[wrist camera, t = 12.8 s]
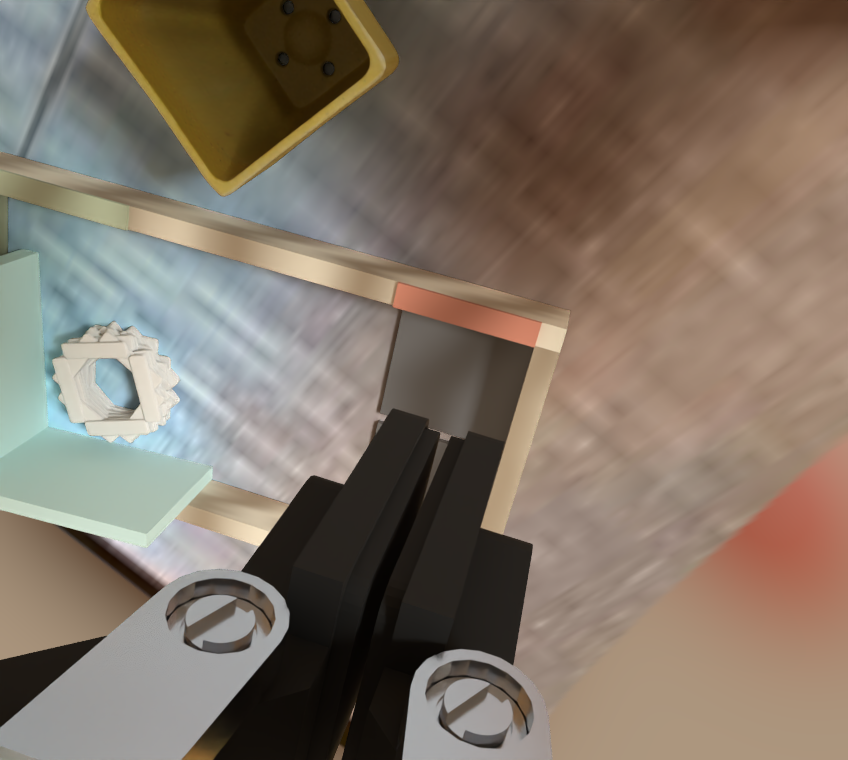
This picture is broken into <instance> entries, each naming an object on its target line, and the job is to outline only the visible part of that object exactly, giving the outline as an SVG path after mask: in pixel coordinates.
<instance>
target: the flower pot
mask: <svg viewBox="0 0 848 760" xmlns="http://www.w3.org/2000/svg"><path fill="white" fill-rule="evenodd" d="M286 1H291V2H292V3H293V5H294V10H293V12H292V13H291V14H286V13H285V12H284V10H283V4H284V3H285V2H286ZM333 10H337V11H339V13H340V15H341V19H340V21H339V22H338V23H332V22H331V21H330V19H329V15H330V12H331V11H333ZM86 11H87V13H88V15H89V17H90V19H91V20H92V22H93V23H94V25H95V26H96V27H97V29H98V30H99V31H100V33H101V34H102V36H103V37H104V38H105V40H106V41H107V42H108V44H109V45H110V46H111V48H112V49H113V50H114V52H115V53H116V54H117V55H118V57H119V58H120V59H121V61H122V62H123V63H124V65H125V66H126V67H127V69H128V70H129V72H130V73H131V74H132V76H133V77H134V78H135V80H136V81H137V82H138V83H139V85H140V86H141V87H142V89H143V90H144V92H145V93H146V94H147V95H148V97H149V98H150V100H151V101H152V102H153V104H154V105H155V107H156V108H157V109H158V111H159V112H160V114H161V115H162V117H163V118H164V119H165V121H166V123H167V124H168V125H169V127H170V128H171V130H172V131H173V133H174V134H175V136H176V137H177V139H178V140H179V142H180V143H181V145H182V146H183V147H184V149H185V151H186V152H187V153H188V155H189V156H190V158H191V159H192V160H193V162H194V163H195V165H196V166H197V168H198V169H199V171H200V172H201V174H202V175H203V177H204V178H205V179H206V181H207V182H208V183H209V184H210V186H211V187H212V188H213V189H214V190H215V191H216V192H217V193H218V194H219V195H220V196H223V197H225V196H228V195H230V194H231V193H233V192H234V191H236V190H237V189H239V188H240V187H241V186H243V185H244V184H246V183H247V182H249V181H250V180H252V179H253V178H255V177H256V176H257V175H259V174H260V173H262V172H263V171H265V170H266V169H268V168H269V167H271V166H272V165H273V164H275V163H276V162H277V161H278V160H280V159H281V158H282V157H283V156H285V155H286V154H287V153H288V152H290V151H291V150H292V149H293V148H295V147H296V146H297V145H298V144H300V143H301V142H302V141H303V140H305V139H306V138H307V137H308V136H310V135H311V134H312V133H314V132H315V131H316V130H317V129H319V128H320V127H321V126H323V125H324V124H325V123H326V122H328V121H329V120H330V119H332V118H333V117H334V116H336V115H337V114H338V113H340V112H341V111H342V110H344V109H345V108H346V107H348V106H349V105H350V104H352V103H353V102H354V101H356V100H357V99H358V98H360V97H361V96H362V95H364V94H365V93H366V92H368V91H369V90H370V89H372V88H373V87H374V86H376V85H377V84H379V83H380V82H381V81H383V80H384V79H385V78H387V77H388V76H389V75H391V74H392V73H393V72H394V71H395V70H396V68H397V66H398V64H399V57H398V54H397V51H396V50H395V48H394V46H393V45H392V43H391V41H390V40H389V38H388V37H387V35H386V34H385V32H384V31H383V29H382V28H381V26H380V25H379V23H378V22H377V20H376V19H375V17H374V15H373V14H372V12H371V11H370V9H369V8H368V6H367V5H366V3H365V2H364V0H89V1H88V3H87V5H86ZM281 53H285V54H287V55H288V57H289V62H288V64H287V65H281V64H280V63H279V62H278V56H279V54H281ZM326 62H330V63H332V64H333V66H334V72H333V74H331V75H327V74H325V73H324V71H323V66H324V64H325V63H326Z"/></svg>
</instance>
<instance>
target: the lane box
mask: <svg viewBox="0 0 848 760" xmlns="http://www.w3.org/2000/svg"><path fill="white" fill-rule="evenodd" d="M8 197H10V198H14V199H17V200H21V201H24V202H28V203H31V204H35V205H38V206H42V207H45V208H49V209H52V210H56V211H59V212H63V213H66V214H70V215H73V216H77V217H80V218H84V219H87V220H91V221H94V222H98V223H101V224H105V225H108V226H112V227H115V228H119V229H122V230H132V231H135V232H139V233H142V234H146V235H149V236H153V237H156V238H160V239H163V240H167V241H170V242H174V243H177V244H181V245H184V246H188V247H191V248H195V249H198V250H202V251H205V252H209V253H212V254H216V255H219V256H223V257H226V258H230V259H233V260H237V261H240V262H244V263H247V264H251V265H254V266H258V267H261V268H265V269H268V270H272V271H275V272H279V273H282V274H286V275H289V276H293V277H296V278H300V279H303V280H307V281H310V282H314V283H317V284H321V285H324V286H328V287H331V288H335V289H338V290H342V291H345V292H349V293H352V294H356V295H359V296H363V297H366V298H370V299H373V300H377V301H380V302H384V303H387V304H391V305H393V307H394V308H398V309H401V310H403V311H402V315H401V320H400V324H399V329H398V334H397V338H396V343H395V347H394V352H393V356H392V361H391V365H390V370H389V374H388V379H387V384H386V388H385V393H384V397H383V402H382V406H381V411H380V413H381V414H384V415H388V414H389V413H390V411H391V410H392V409H393V408H394V409H398V410H401V411H404V412H408V413H411V414H414V415H418V416H421V417H424V418H428V419H429V425H428V428H431V429H434V430H437V431H441V432H444V433H447V434H450V435H454V436H457V437H460V438H464V439H465V438H466V436H467V433H468V431H471V432H474V433H477V434H481V435H484V436H487V437H491V438H494V439H497V440H501V441H504V442H505V443H504V446H503V453H502V456H501V457H500V460H499V464H498V467H497V471H496V474H495V478H494V481H493V485H492V488H491V492H490V495H489V499H488V502H487V506H486V509H485V513H484V516H483V520H482V523H481V527H480V528H483V529H486V530H489V531H493V532H496V533H499V534H502V535H503V532H504V529H505V526H506V522H507V519H508V516H509V513H510V510H511V507H512V503H513V500H514V497H515V494H516V491H517V488H518V484H519V481H520V478H521V475H522V472H523V468H524V465H525V462H526V459H527V456H528V453H529V449H530V446H531V443H532V440H533V437H534V433H535V430H536V427H537V424H538V421H539V418H540V414H541V411H542V408H543V405H544V402H545V398H546V395H547V392H548V389H549V386H550V383H551V379H552V376H553V373H554V370H555V367H556V363H557V360H558V357H559V354H560V351H561V348H562V344H563V341H564V338H565V335H566V332H567V328H568V322H569V316H570V311H569V310H566V309H562V308H559V307H555V306H551V305H548V304H544V303H541V302H537V301H533V300H530V299H526V298H523V297H519V296H516V295H512V294H508V293H505V292H501V291H498V290H494V289H491V288H487V287H483V286H480V285H476V284H473V283H469V282H466V281H462V280H458V279H455V278H451V277H448V276H444V275H440V274H437V273H433V272H430V271H426V270H423V269H419V268H415V267H412V266H408V265H405V264H401V263H398V262H394V261H390V260H387V259H383V258H380V257H376V256H373V255H369V254H365V253H362V252H358V251H355V250H351V249H348V248H344V247H340V246H337V245H333V244H330V243H326V242H322V241H319V240H315V239H312V238H308V237H305V236H301V235H297V234H294V233H290V232H287V231H283V230H280V229H276V228H272V227H269V226H265V225H262V224H258V223H255V222H251V221H247V220H244V219H240V218H237V217H233V216H229V215H226V214H222V213H219V212H215V211H212V210H208V209H204V208H201V207H197V206H194V205H190V204H187V203H183V202H179V201H176V200H172V199H169V198H165V197H162V196H158V195H154V194H151V193H147V192H144V191H140V190H136V189H133V188H129V187H126V186H122V185H119V184H115V183H111V182H108V181H104V180H101V179H97V178H94V177H90V176H86V175H83V174H79V173H76V172H72V171H69V170H65V169H61V168H58V167H54V166H51V165H47V164H43V163H40V162H36V161H33V160H29V159H26V158H22V157H18V156H15V155H11V154H8V153H4V152H1V151H0V256H2V255H5V254H8ZM382 424H383V421H380V420H379V422H378V424H377V429H376V433H377V432H378V430H379V429H380V427H381V425H382ZM375 435H376V434H375ZM448 442H449V441H445V440H442V439H439V442H438V446H437V450H436V454H435V458H434V462H433V465H432V469H431V473H430V477H429V481H428V485H427V489H426V493H425V496H426V494H427V491H428V489H429V487H430V484H431V482H432V480H433V477H434V475H435V473H436V470H437V468H438V466H439V463H440V461H441V459H442V456H443V454H444V452H445V449H446V447H447V445H448ZM425 496H424V498H425ZM423 501H424V500H423ZM288 506H289V504H286V503H283V502H279V501H276V500H273V499H270V498H267V497H264V496H261V495H258V494H254V493H251V492H248V491H245V490H242V489H239V488H236V487H233V486H230V485H226V484H223V483H220V482H217V481H214V480H211V481H210V482H209V483H208V484H207V485H206V486H205V487H204V488H203V489H202V490H201V491H200V493H199V494H198V495H197V496H196V497H195V498H194V499H193V500H192V501H191V502H190V503H189V504H188V505H187V506H186V507H185V508H184V509H183V510H182V511H181V513H180V514H179V515H178V516H177V517H176V518H175V519H178V520H181V521H184V522H187V523H190V524H193V525H196V526H199V527H202V528H205V529H208V530H211V531H214V532H217V533H220V534H223V535H226V536H229V537H233V538H236V539H239V540H242V541H245V542H248V543H251V544H254V545H257V546H260V545H261V543H262V542H263V540H264V539H265V538H266V536H267V535H268V534H269V532H270V531H271V529H272V528H273V527H274V525H275V524H276V522H277V521H278V520H279V518H280V517H281V516H282V514H283V513H284V511H285V510H286V509H287V507H288Z"/></svg>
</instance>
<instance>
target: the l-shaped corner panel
mask: <svg viewBox="0 0 848 760" xmlns="http://www.w3.org/2000/svg"><path fill="white" fill-rule="evenodd" d="M158 344H159V343H158V340H157V339H155V338H151V337H147V336H143V335H142V334H141V333H140V332H139V331H138V330H137V329H136V328H135V327H134V326H131V327H129V328H128V329H127V330H126V331H123V330H122V329H121V328H120V326H119V325H118V324H117V323H116V322H115V321H113V322H111V323H110V324H109V325H108V326H107V327H105V326H100V325H94V327H90V328H89V329H88V330H87V331H86V334H84V335H83V337H79V338H72V339H69V340H68V343H63V344H61V348H62V351H63V355H62V356H59V357H56V358H54V359H52V363H53V366H54V369H55V374H54V375H53V376H52V379H53V380H54V381H55V382H57V383H58V384H59V386H60V389H61V393H60V394H59V396H58V399H59V401H61V402H62V403H63V404H64V405H65V406H66V409H67V412H68V416H69V419H70V421H71V423H83V422H85V427H86V429H87V432H88V434H89V435H90V436H102V437H103V438H104V439H105V440H107V441H105V440H101V439H97V438H93V437H89V436H85V435H81V434H77V433H72V432H68V431H64V430H60V429H56V428H52V427H48V411H47V393H46V376H45V358H44V340H43V323H42V305H41V287H40V270H39V252H34V251H29V250H24V249H20V250H17V251H14V252H11V253H8V254H5V255H2V256H0V510H3V511H7V512H11V513H15V514H18V515H23V516H26V517H30V518H34V519H38V520H42V521H45V522H49V523H53V524H57V525H60V526H64V527H68V528H72V529H76V530H79V531H83V532H87V533H91V534H95V535H99V536H102V537H106V538H110V539H114V540H118V541H121V542H125V543H129V544H133V545H137V546H141V547H144V548H147V547H148V546H149V545H150V544H151V543H152V542H153V541H154V540H155V539H156V538H157V537H158V536H159V535H160V534H161V533H162V532H163V530H164V529H165V528H166V527H167V526H168V525H169V524H170V523H171V522H172V521H173V520H174V519H175V518H176V517H177V516H178V515H179V514H180V513H181V511H182V510H183V509H184V508H185V507H186V506H187V505H188V504H189V503H190V502H191V501H192V500H193V499H194V498H195V497H196V496H197V495H198V494H199V493H200V491H201V490H202V489H203V488H204V487H205V486H206V485H207V484H208V483H209V482H210V481H211V480H212V471H213V466H208V465H204V464H200V463H196V462H192V461H188V460H184V459H180V458H175V457H171V456H167V455H163V454H159V453H155V452H151V451H147V450H142V449H138V448H134V447H130V446H126V445H122V444H118V443H114V442H113V441H114V440H115V439H116V438H118V437H119V436H121V437H122V438H123V439H125V440H126V441H127V442H129V443H132V442H133V441H134V440H135V439H137V438H138V437H139V436H140V435H147V434H149V433H150V432H155V431H156V430H158V425H161V426H164V425H165V424H166V420H168V419H170V409H171V408H172V407H173V406H175V405H176V404H177V403H178V402H180V399H179V397H178V396H177V394H176V393H175V392H174V390H173V389H172V388H173V387H174V386H175V385H177V383H178V382H179V381H180V378H179V376H178V375H177V374H176V373H175V372H174V371H173V370H172V368H171V359H170V358H169V357H167V356H162V355H159V354H158ZM109 358H116V359H117V360H118V361H119V362H121V363H122V364H123V365H124V366H125V367H126V368H127V369H129V370H130V371H131V372H132V374H133V378H134V381H135V385H136V389H137V393H138V397H139V400H140V405H139V406H138V407H137V409H136V410H132V409H128V408H124V407H120V406H116V405H114V404H113V403H112V402H111V401H110V399H109V398H108V397H107V396H106V395H105V393H104V392H103V391H102V390H101V389H100V387H99V386H98V385H97V384H96V383H95V370H96V361H97V360H98V359H109Z"/></svg>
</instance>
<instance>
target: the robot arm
mask: <svg viewBox="0 0 848 760" xmlns="http://www.w3.org/2000/svg"><path fill="white" fill-rule="evenodd" d="M428 425H429V419H428V418H424V417H421V416H418V415H414V414H411V413H408V412H404V411H401V410H398V409H394V408H393V409H392V410H391V411H390V413H389V414H388V416H387V417H386V419H385V421H384V422H383V424H382V425H381V427H380V429H379V430H378V432H377V433H376V435H375V437H374V438H373V440H372V441H371V443H370V444H369V446H368V448H367V449H366V451H365V452H364V454H363V456H362V457H361V459H360V460H359V462H358V464H357V465H356V467H355V468H354V470H353V471H352V473H351V475H350V476H349V478H348V479H347V481H346V483H345V484H344V485H343V484H340V483H337V482H334V481H331V480H327V479H324V478H321V477H318V476H315V475H314V476H311V477H310V478H309V479H308V480H307V481H306V482H305V484H304V485H303V487H302V488H301V489H300V491H299V492H298V493H297V495H296V496H295V498H294V499H293V500H292V502H291V503H290V505H289V506H288V507H287V509H286V510H285V511H284V513H283V514H282V516H281V517H280V518H279V520H278V521H277V522H276V524H275V525H274V527H273V528H272V529H271V531H270V532H269V534H268V535H267V536H266V538H265V539H264V540H263V542H262V543H261V545H260V546H259V547H258V549H257V550H256V552H255V553H254V554H253V556H252V557H251V558H250V560H249V561H248V563H247V564H246V565H245V567H244V568H243V569H242V571H234V570H225V569H214V570H203V571H197V572H194V573H191V574H188V575H185V576H182V577H179V578H178V579H176V580H175V581H173V582H171V583H170V584H168V585H167V586H165V587H164V588H163V589H162V590H160V591H159V592H158V593H157V594H156V595H155V596H153V597H152V598H151V599H150V600H149V601H148V602H146V603H145V604H144V605H143V606H142V607H141V608H139V609H138V610H137V611H136V612H135V613H134V614H132V615H131V616H130V617H129V618H128V619H127V620H125V621H124V622H123V623H122V624H121V625H120V626H118V627H117V628H116V629H115V630H114V631H113V632H111V633H110V634H109V635H108V636H104V637H99V638H95V639H91V640H86V641H82V642H77V643H73V644H69V645H64V646H60V647H55V648H51V649H47V650H42V651H38V652H33V653H29V654H25V655H20V656H16V657H12V658H7V659H3V660H0V760H333V758H334V755H335V753H336V750H337V748H338V746H339V743H340V741H341V738H342V736H343V733H344V731H345V728H346V726H347V723H348V721H349V718H350V716H351V713H352V711H353V708H354V706H355V708H354V712H353V716H352V720H351V724H350V728H349V732H348V736H347V741H346V745H345V749H344V753H343V757H342V760H552V749H551V737H550V726H549V716H548V713H547V709H546V705H545V702H544V699H543V697H542V696H541V694H540V692H539V691H538V689H537V688H536V686H535V685H534V683H533V682H532V681H531V680H530V679H529V678H528V677H527V676H526V675H525V674H523V673H522V672H521V671H520V670H519V669H518V668H516V667H515V666H513V663H514V657H515V651H516V645H517V639H518V633H519V627H520V621H521V615H522V609H523V603H524V597H525V591H526V585H527V579H528V573H529V567H530V562H531V556H532V548H533V545H532V544H531V543H527V542H524V541H521V540H518V539H515V538H512V537H508V536H505V535H502V534H499V533H496V532H493V531H489V530H486V529H483V528H480V527H481V523H482V520H483V516H484V513H485V509H486V506H487V502H488V499H489V495H490V492H491V488H492V485H493V481H494V478H495V474H496V471H497V467H498V464H499V460H500V457H501V453H502V450H503V446H504V443H505V442H504V441H501V440H497V439H494V438H491V437H487V436H484V435H481V434H477V433H474V432H471V431H468V433H467V436H466V438H465V440H463V439H460V438H457V437H453V436H451V438H450V440H449V442H448V445H447V447H446V449H445V452H444V454H443V456H442V459H441V461H440V463H439V466H438V468H437V470H436V473H435V475H434V477H433V480H432V482H431V484H430V487H429V489H428V491H427V494H426V496H425V493H426V489H427V485H428V481H429V477H430V473H431V469H432V465H433V462H434V458H435V454H436V450H437V446H438V442H439V438H440V432H437V431H433V430H430V429H428ZM424 496H425V498H424ZM423 500H424V501H423ZM355 703H356V704H355Z"/></svg>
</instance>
